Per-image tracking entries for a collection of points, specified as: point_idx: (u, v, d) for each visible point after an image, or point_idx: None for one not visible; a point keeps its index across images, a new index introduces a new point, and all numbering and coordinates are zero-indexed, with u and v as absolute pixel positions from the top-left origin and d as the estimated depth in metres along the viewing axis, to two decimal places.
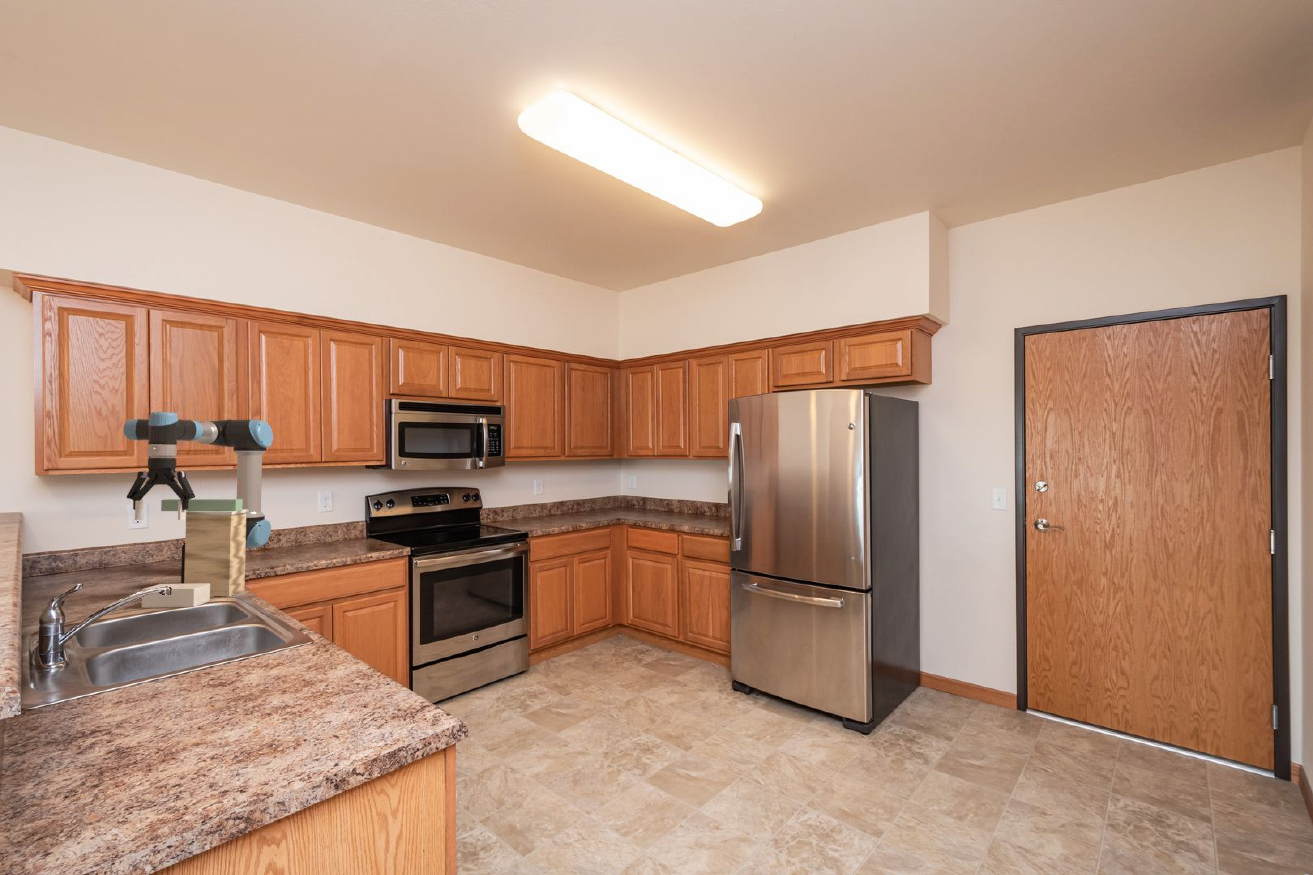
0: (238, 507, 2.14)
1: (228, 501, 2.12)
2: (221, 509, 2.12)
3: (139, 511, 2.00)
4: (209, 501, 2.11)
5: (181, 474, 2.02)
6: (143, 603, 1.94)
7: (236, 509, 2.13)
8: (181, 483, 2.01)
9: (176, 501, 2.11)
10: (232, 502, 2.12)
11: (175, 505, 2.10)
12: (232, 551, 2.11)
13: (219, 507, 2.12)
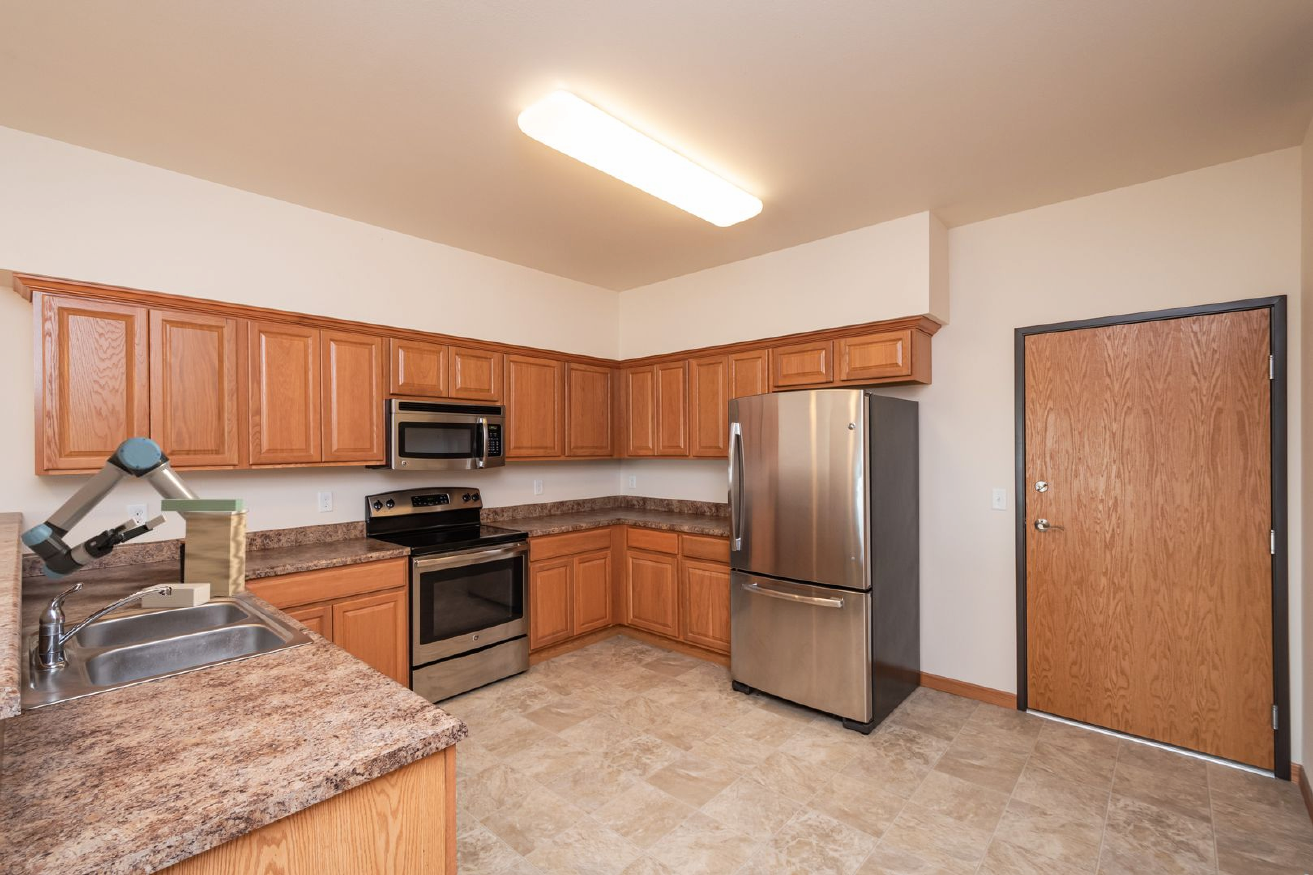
0: (238, 507, 2.14)
1: (228, 501, 2.12)
2: (221, 509, 2.12)
3: (157, 522, 2.18)
4: (209, 501, 2.11)
5: (93, 546, 2.03)
6: (143, 603, 1.94)
7: (236, 509, 2.13)
8: (102, 542, 2.03)
9: (176, 501, 2.11)
10: (232, 502, 2.12)
11: (175, 505, 2.10)
12: (232, 551, 2.11)
13: (219, 507, 2.12)
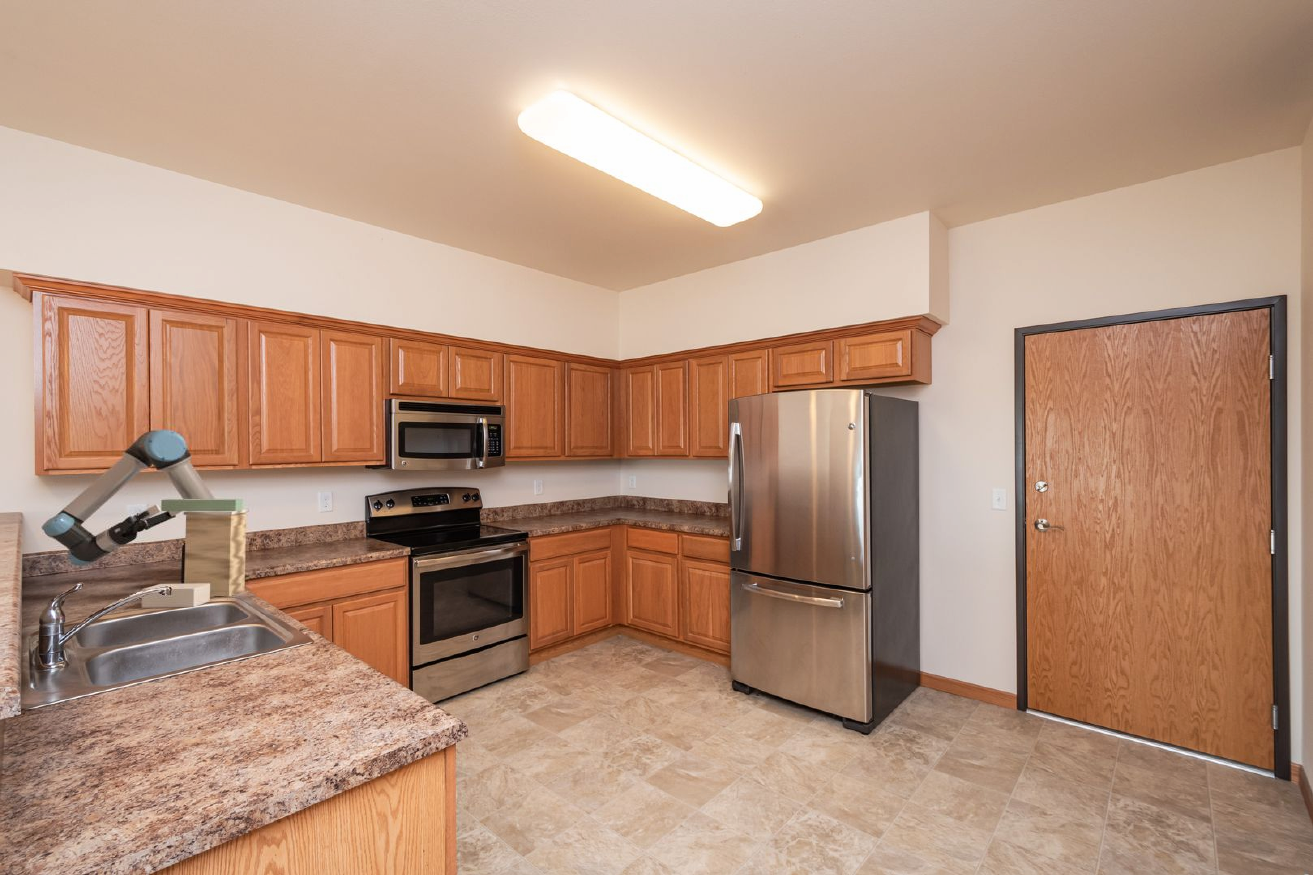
0: (238, 507, 2.14)
1: (228, 501, 2.12)
2: (221, 509, 2.12)
3: None
4: (209, 501, 2.11)
5: (118, 532, 2.04)
6: (143, 603, 1.94)
7: (236, 509, 2.13)
8: (126, 529, 2.04)
9: (176, 501, 2.11)
10: (232, 502, 2.12)
11: (175, 505, 2.10)
12: (232, 551, 2.11)
13: (219, 507, 2.12)
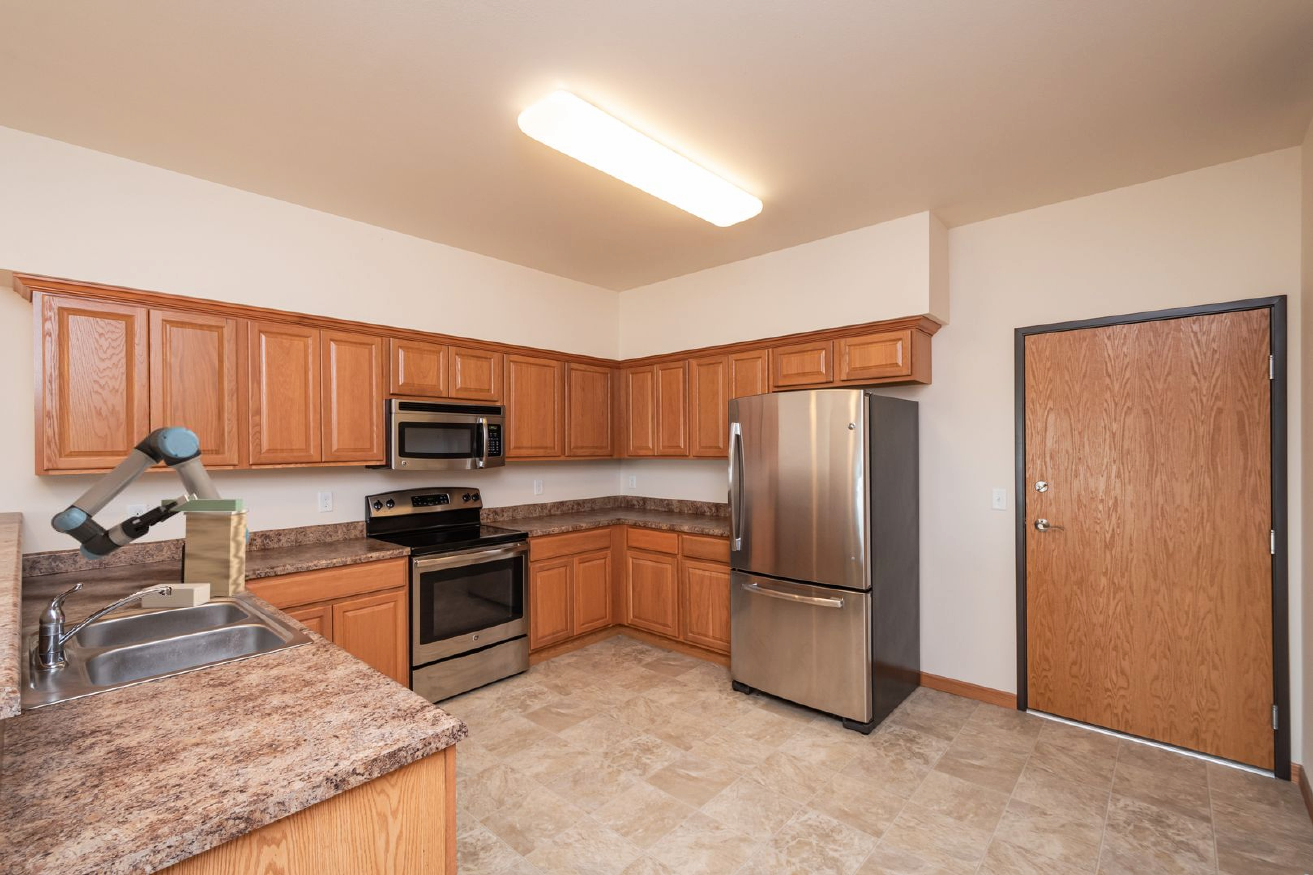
0: (238, 507, 2.14)
1: (228, 501, 2.12)
2: (221, 509, 2.12)
3: None
4: (209, 501, 2.11)
5: (137, 523, 2.05)
6: (143, 603, 1.94)
7: (236, 509, 2.13)
8: (148, 520, 2.07)
9: None
10: (232, 502, 2.12)
11: None
12: (232, 551, 2.11)
13: (219, 507, 2.12)
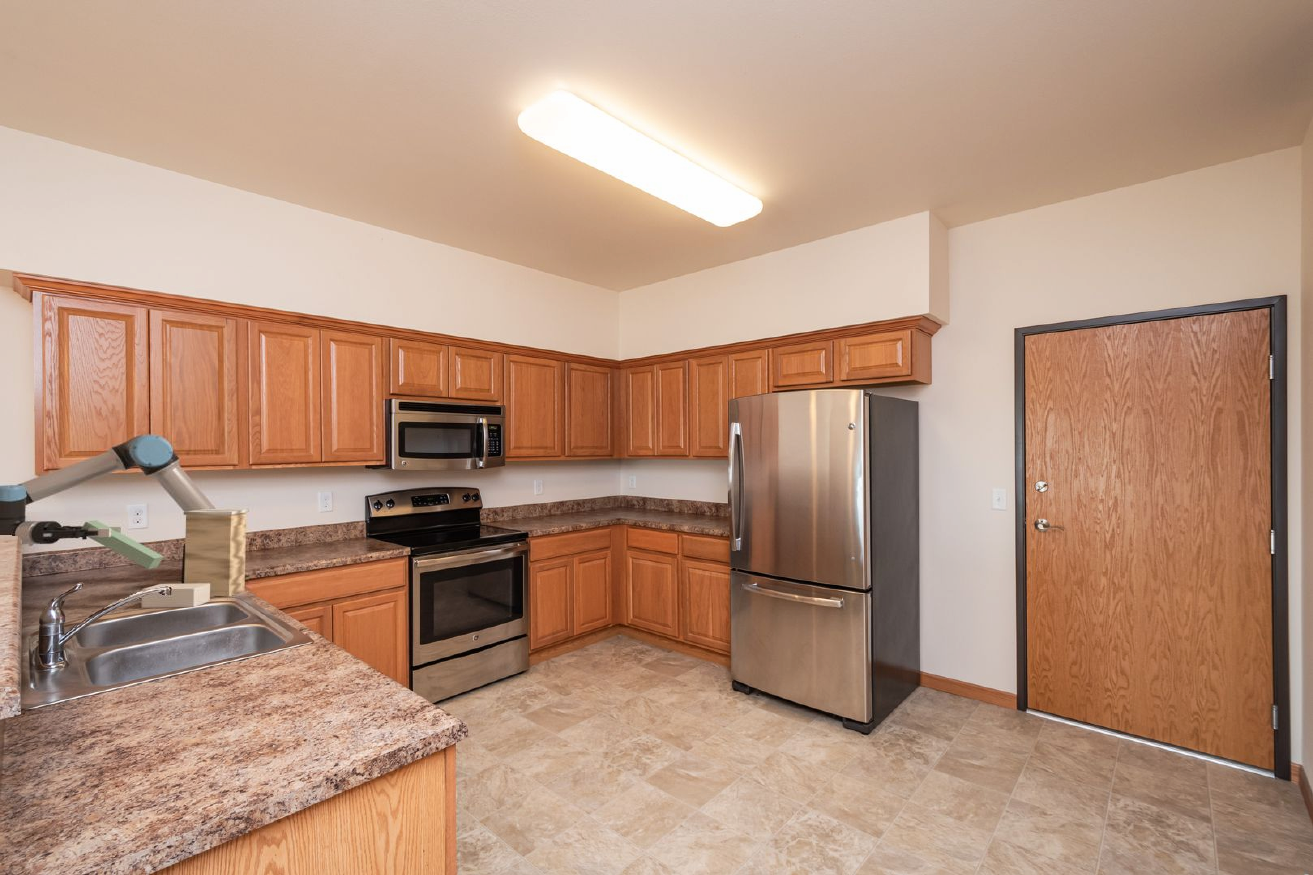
0: (153, 565, 1.98)
1: (147, 556, 1.97)
2: (136, 560, 1.96)
3: None
4: (129, 547, 1.96)
5: (47, 537, 1.90)
6: (143, 603, 1.94)
7: (150, 567, 1.97)
8: None
9: None
10: (150, 559, 1.97)
11: None
12: (232, 551, 2.11)
13: (134, 557, 1.96)
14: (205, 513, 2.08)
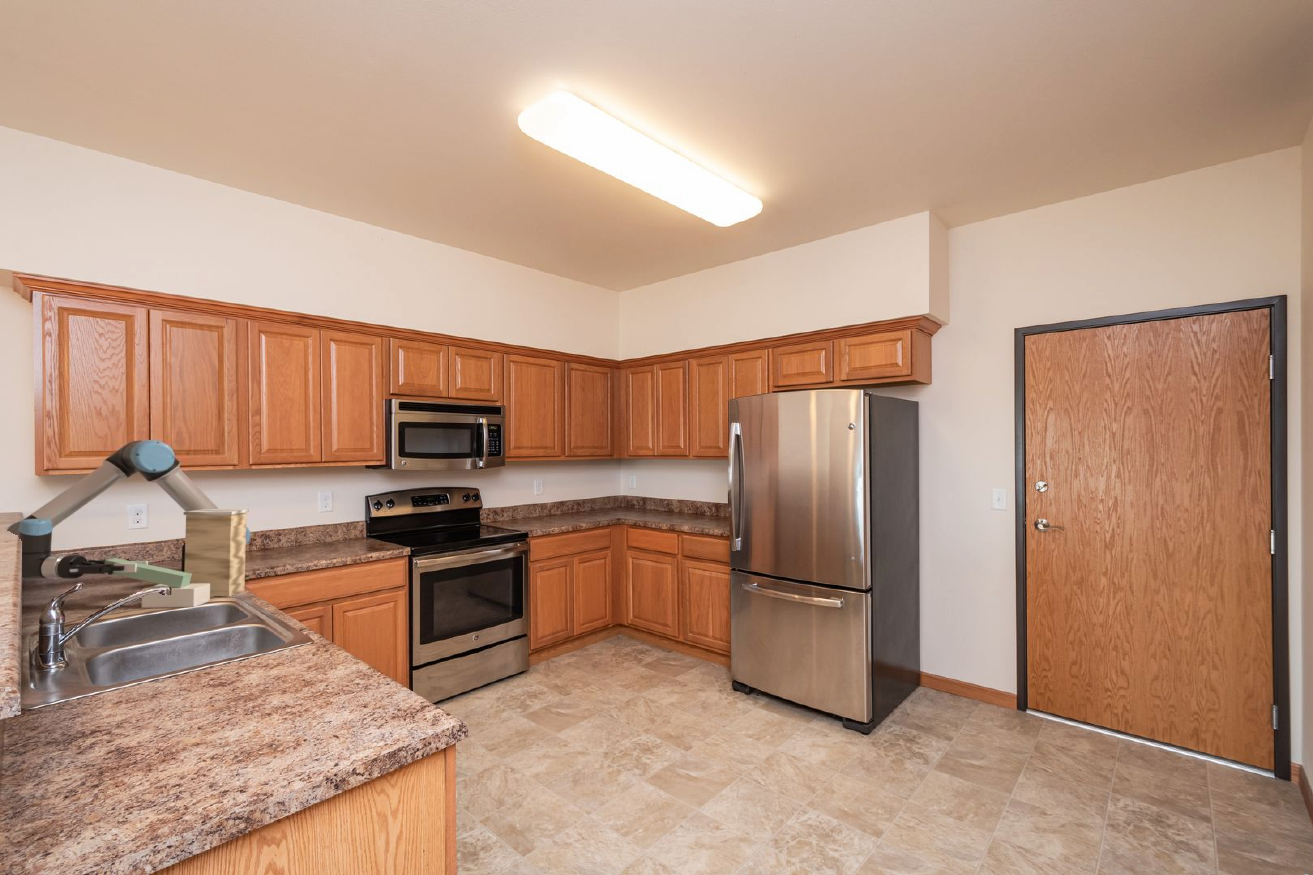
0: (184, 583, 1.97)
1: (175, 576, 1.96)
2: (166, 583, 1.96)
3: None
4: (155, 572, 1.96)
5: (73, 573, 1.89)
6: (143, 603, 1.94)
7: (181, 586, 1.97)
8: None
9: None
10: (179, 578, 1.96)
11: None
12: (232, 551, 2.11)
13: (163, 580, 1.96)
14: (205, 513, 2.08)
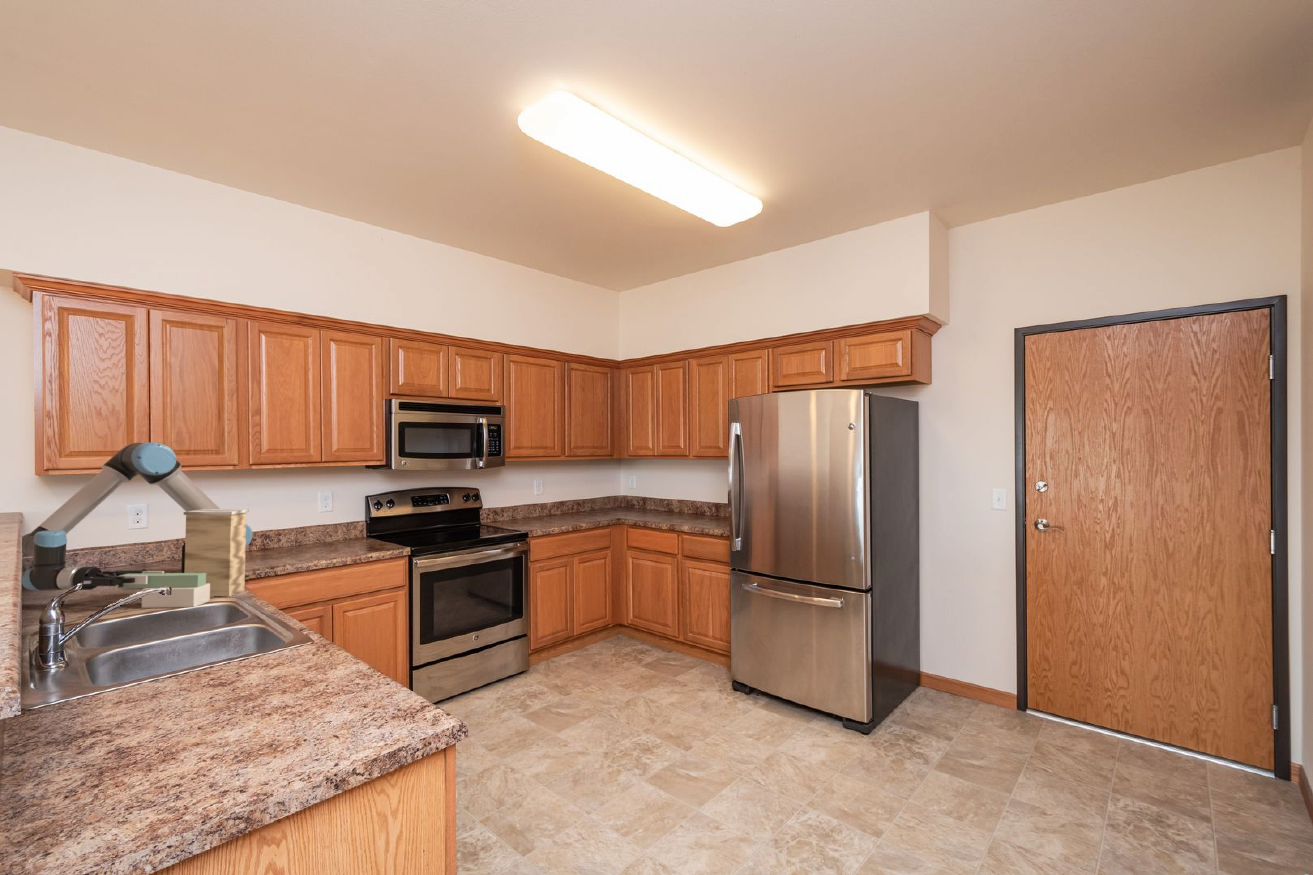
0: (200, 583, 1.99)
1: (190, 577, 1.97)
2: (182, 585, 1.97)
3: None
4: (169, 577, 1.97)
5: (86, 584, 1.90)
6: (143, 603, 1.94)
7: (198, 585, 1.98)
8: None
9: None
10: (194, 578, 1.97)
11: None
12: (232, 551, 2.11)
13: (179, 583, 1.97)
14: (205, 513, 2.08)
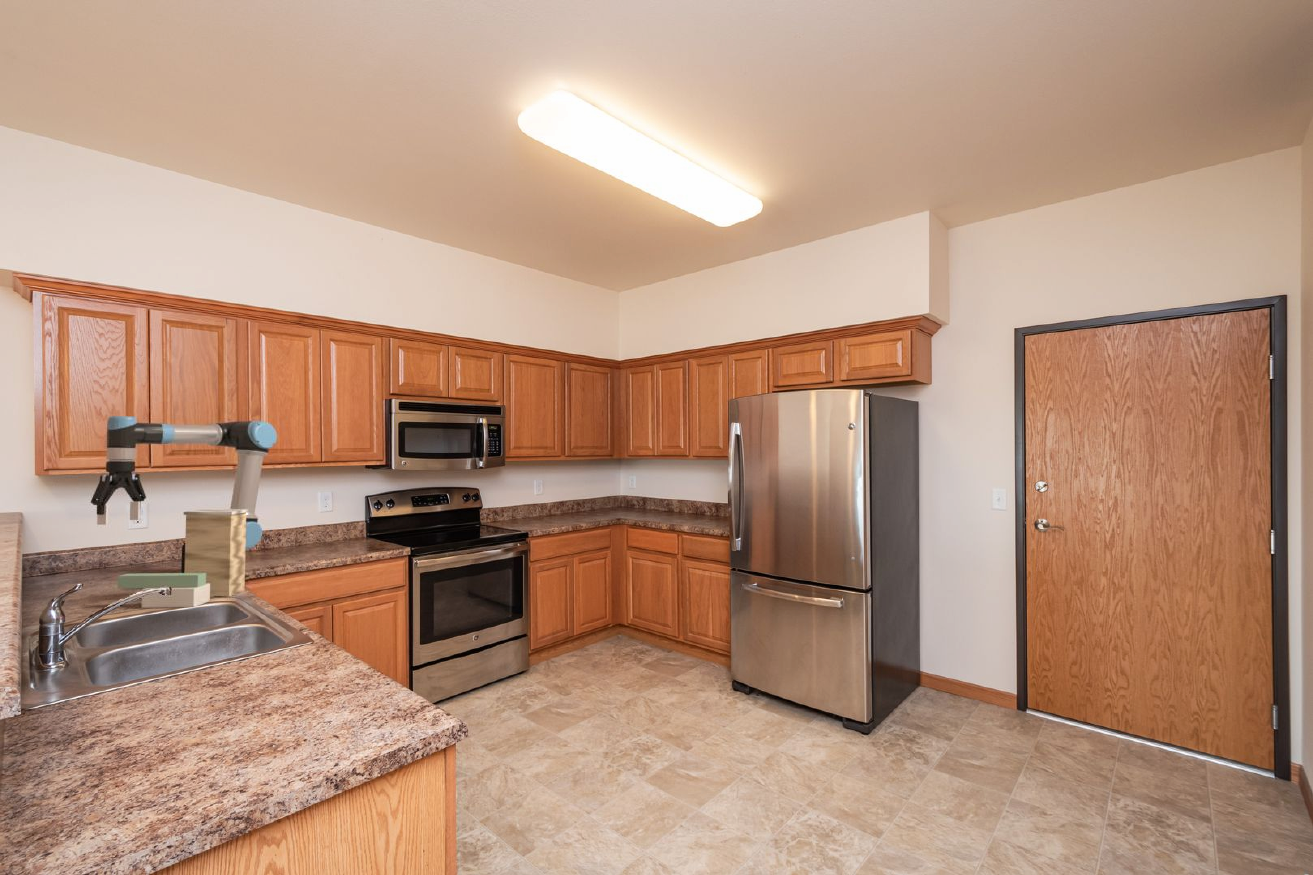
0: (200, 583, 1.99)
1: (190, 577, 1.97)
2: (182, 585, 1.97)
3: (132, 512, 2.11)
4: (169, 577, 1.97)
5: (101, 478, 1.98)
6: (143, 603, 1.94)
7: (198, 585, 1.98)
8: None
9: (134, 577, 1.96)
10: (194, 578, 1.97)
11: (132, 581, 1.96)
12: (232, 551, 2.11)
13: (179, 583, 1.97)
14: (205, 513, 2.08)
